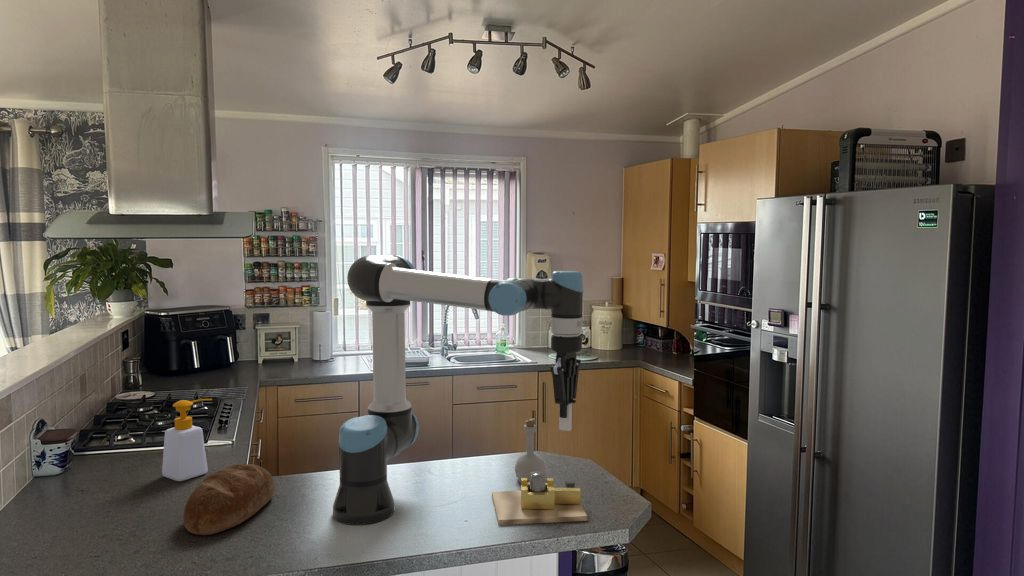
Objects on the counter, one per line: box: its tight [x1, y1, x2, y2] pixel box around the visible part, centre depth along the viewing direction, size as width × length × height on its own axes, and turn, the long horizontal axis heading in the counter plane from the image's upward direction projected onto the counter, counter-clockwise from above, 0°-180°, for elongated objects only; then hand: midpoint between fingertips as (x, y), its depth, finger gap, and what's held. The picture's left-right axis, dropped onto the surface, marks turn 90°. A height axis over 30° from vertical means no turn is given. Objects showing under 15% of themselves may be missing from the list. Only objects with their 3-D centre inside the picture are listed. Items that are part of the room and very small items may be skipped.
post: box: [530, 471, 546, 493], centre depth 169 cm, size 4×4×9 cm
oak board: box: [491, 490, 588, 526], centre depth 169 cm, size 22×18×1 cm
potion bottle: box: [514, 418, 546, 483], centre depth 188 cm, size 9×9×18 cm
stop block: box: [564, 480, 576, 488], centre depth 172 cm, size 2×2×4 cm
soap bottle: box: [161, 398, 213, 482], centre depth 192 cm, size 10×14×22 cm
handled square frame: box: [520, 477, 582, 509], centre depth 169 cm, size 15×8×5 cm, turn 89°
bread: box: [182, 463, 276, 536], centre depth 165 cm, size 16×29×11 cm, turn 173°
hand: (565, 429), depth 161 cm, fingers closed
